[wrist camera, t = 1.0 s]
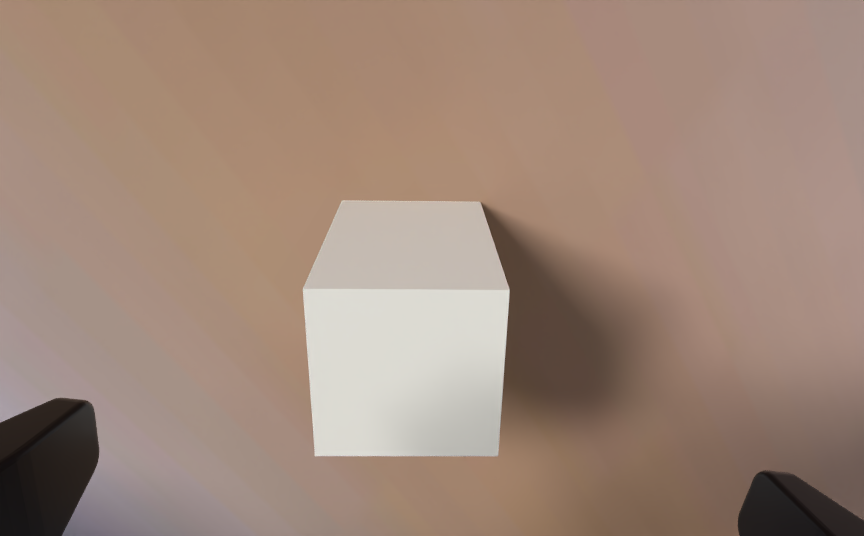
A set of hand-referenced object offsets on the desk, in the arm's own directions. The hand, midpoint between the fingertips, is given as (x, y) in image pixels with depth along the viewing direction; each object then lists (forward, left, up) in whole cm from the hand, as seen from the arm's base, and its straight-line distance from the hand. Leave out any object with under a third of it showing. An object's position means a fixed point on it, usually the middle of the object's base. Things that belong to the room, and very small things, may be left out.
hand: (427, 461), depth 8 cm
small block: (0, -2, -12) cm, 13 cm away
